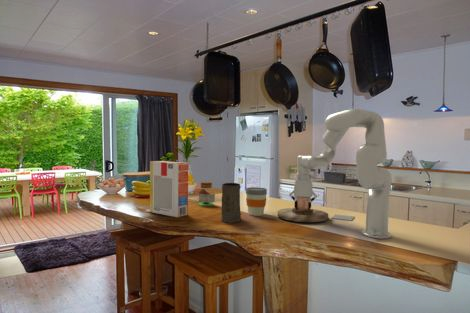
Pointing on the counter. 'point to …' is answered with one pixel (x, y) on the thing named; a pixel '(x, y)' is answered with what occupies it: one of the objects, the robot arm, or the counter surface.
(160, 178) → the pasta box
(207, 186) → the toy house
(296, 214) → the lazy susan
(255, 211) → the reusable coffee cup
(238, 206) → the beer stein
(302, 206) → the pink mug
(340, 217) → the mat
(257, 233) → the counter surface
